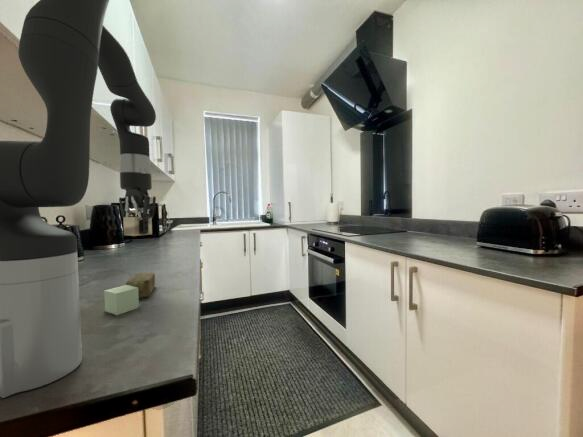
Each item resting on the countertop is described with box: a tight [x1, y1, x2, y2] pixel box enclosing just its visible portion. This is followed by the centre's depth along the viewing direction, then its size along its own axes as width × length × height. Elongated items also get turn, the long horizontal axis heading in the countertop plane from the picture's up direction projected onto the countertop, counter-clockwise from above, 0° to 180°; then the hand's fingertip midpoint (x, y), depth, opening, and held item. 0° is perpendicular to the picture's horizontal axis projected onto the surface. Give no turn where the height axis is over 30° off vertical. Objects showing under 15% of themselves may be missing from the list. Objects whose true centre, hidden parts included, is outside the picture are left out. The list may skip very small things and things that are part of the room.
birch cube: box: [122, 216, 153, 237], centre depth 73 cm, size 5×5×5 cm
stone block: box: [125, 272, 156, 299], centre depth 74 cm, size 6×12×5 cm, turn 21°
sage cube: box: [103, 284, 140, 316], centre depth 61 cm, size 5×5×5 cm
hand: (138, 233), depth 73 cm, fingers closed on birch cube, 5 cm apart
